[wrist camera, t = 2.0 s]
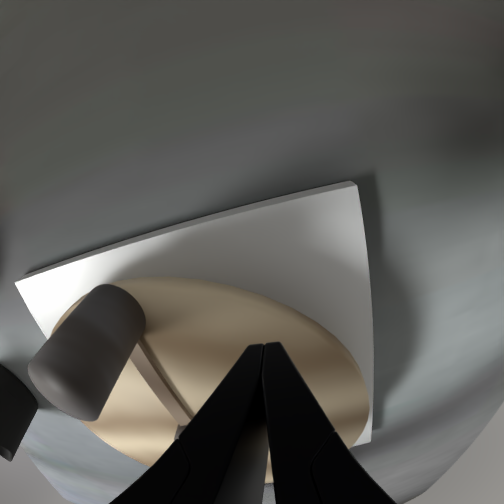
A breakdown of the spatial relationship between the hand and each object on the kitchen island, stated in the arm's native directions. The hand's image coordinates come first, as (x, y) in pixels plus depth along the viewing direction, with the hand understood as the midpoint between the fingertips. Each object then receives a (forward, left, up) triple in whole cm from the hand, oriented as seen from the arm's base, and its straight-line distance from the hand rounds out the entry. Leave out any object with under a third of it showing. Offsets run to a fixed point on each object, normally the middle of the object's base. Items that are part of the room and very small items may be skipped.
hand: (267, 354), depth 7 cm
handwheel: (-9, +7, -7) cm, 13 cm away
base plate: (-9, +7, -8) cm, 14 cm away
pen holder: (-11, +37, -8) cm, 40 cm away
